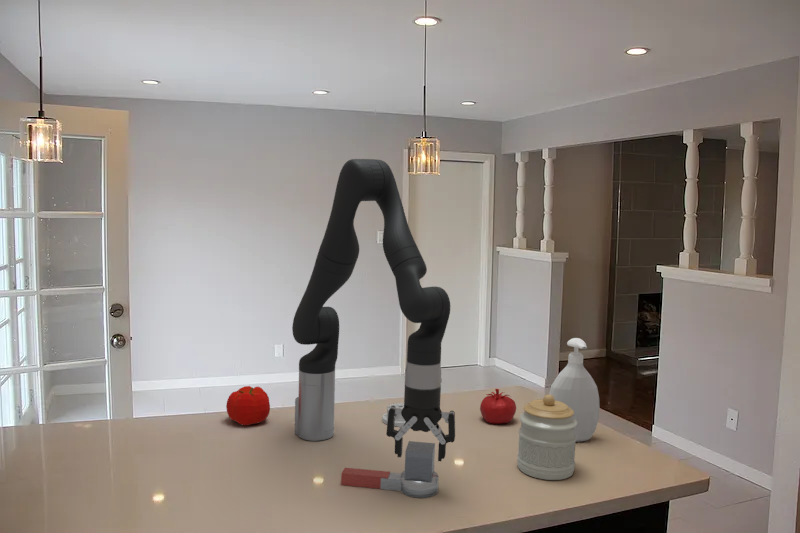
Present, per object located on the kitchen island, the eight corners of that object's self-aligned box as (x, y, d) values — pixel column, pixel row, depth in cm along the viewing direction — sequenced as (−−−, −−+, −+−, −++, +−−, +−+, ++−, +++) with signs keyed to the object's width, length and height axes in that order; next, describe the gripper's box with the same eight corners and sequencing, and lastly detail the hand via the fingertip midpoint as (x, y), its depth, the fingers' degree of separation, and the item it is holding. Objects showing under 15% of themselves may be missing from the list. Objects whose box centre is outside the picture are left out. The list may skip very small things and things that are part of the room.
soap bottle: (552, 447, 159) (557, 342, 156) (540, 435, 167) (545, 335, 164) (605, 445, 161) (612, 341, 159) (591, 434, 169) (597, 335, 167)
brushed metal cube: (404, 479, 130) (405, 450, 129) (408, 468, 136) (409, 441, 135) (431, 482, 129) (432, 453, 129) (434, 471, 135) (435, 443, 134)
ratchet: (439, 483, 136) (440, 451, 135) (436, 499, 128) (437, 466, 127) (347, 474, 139) (347, 443, 138) (338, 490, 131) (339, 457, 130)
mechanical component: (378, 425, 171) (414, 429, 169) (378, 410, 171) (414, 413, 169) (386, 414, 181) (421, 417, 179) (387, 399, 181) (421, 402, 179)
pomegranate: (517, 428, 173) (520, 395, 172) (481, 426, 173) (483, 393, 172) (511, 415, 183) (514, 384, 182) (477, 413, 183) (479, 382, 182)
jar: (576, 463, 149) (580, 390, 147) (572, 485, 137) (577, 406, 135) (521, 454, 153) (524, 384, 152) (512, 475, 141) (516, 398, 139)
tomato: (235, 414, 177) (235, 382, 176) (276, 417, 175) (276, 385, 174) (219, 426, 166) (219, 393, 165) (262, 430, 165) (263, 396, 164)
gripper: (386, 385, 128) (383, 461, 130) (456, 390, 126) (452, 468, 127) (391, 375, 135) (389, 448, 137) (458, 380, 133) (454, 454, 135)
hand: (419, 457), depth 132 cm, fingers open, 8 cm apart
